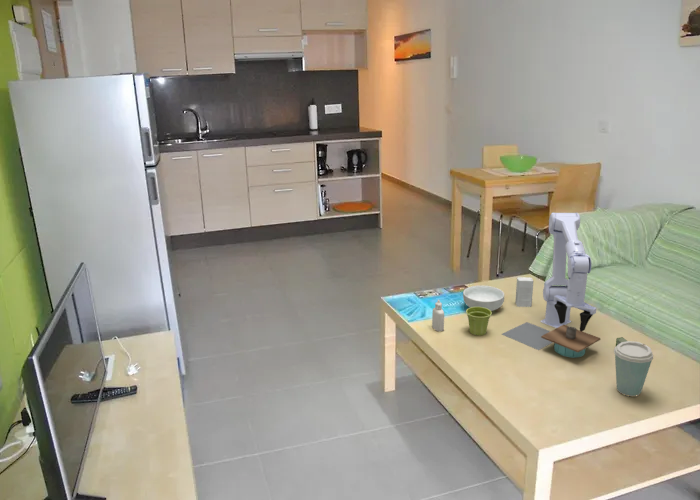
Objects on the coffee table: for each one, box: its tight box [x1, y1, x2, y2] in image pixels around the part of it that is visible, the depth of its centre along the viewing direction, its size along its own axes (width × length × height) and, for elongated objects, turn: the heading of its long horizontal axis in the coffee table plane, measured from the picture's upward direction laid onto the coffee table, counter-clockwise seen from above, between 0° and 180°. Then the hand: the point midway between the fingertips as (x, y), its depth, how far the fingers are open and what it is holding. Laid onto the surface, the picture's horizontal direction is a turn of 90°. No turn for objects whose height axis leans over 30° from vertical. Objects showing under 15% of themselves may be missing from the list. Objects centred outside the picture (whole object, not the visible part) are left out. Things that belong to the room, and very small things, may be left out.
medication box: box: [615, 336, 628, 347], centre depth 188 cm, size 12×3×4 cm, turn 12°
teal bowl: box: [553, 343, 586, 359], centre depth 191 cm, size 10×10×5 cm
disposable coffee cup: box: [613, 340, 654, 397], centre depth 166 cm, size 11×11×15 cm
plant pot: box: [465, 307, 493, 336], centre depth 206 cm, size 9×9×9 cm
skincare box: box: [514, 276, 534, 308], centre depth 228 cm, size 6×4×12 cm
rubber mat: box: [501, 321, 554, 351], centre depth 203 cm, size 16×16×1 cm
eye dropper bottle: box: [431, 299, 445, 332], centre depth 209 cm, size 4×6×12 cm
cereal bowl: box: [462, 285, 505, 312], centre depth 227 cm, size 17×17×7 cm
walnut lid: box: [541, 324, 601, 352], centre depth 190 cm, size 14×14×4 cm
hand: (572, 326), depth 189 cm, fingers open, 7 cm apart
